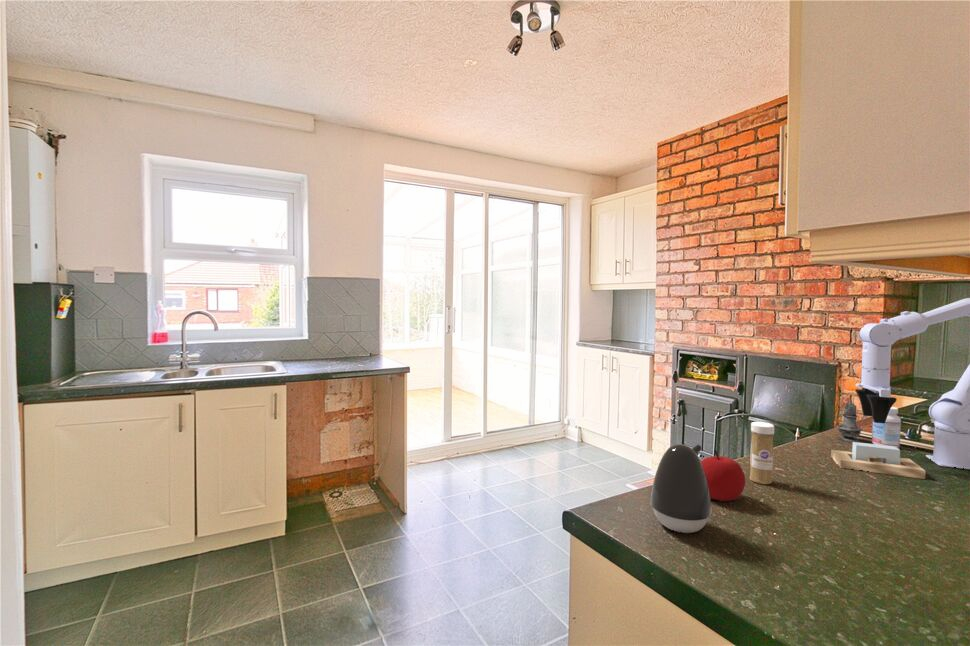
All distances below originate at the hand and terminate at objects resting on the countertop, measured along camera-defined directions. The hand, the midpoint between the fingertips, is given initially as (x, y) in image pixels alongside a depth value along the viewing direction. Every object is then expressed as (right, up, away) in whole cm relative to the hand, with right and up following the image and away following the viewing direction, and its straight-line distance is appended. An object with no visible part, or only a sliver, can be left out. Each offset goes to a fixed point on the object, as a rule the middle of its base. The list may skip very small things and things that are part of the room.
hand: (873, 419), depth 120 cm
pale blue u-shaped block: (-6, -11, -7) cm, 14 cm away
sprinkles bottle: (-40, -11, -16) cm, 44 cm away
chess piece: (+7, -10, +16) cm, 20 cm away
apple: (-54, -12, -25) cm, 60 cm away
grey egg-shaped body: (-68, -12, -37) cm, 78 cm away
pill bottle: (+13, -10, +11) cm, 20 cm away
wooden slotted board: (-6, -11, -7) cm, 14 cm away
